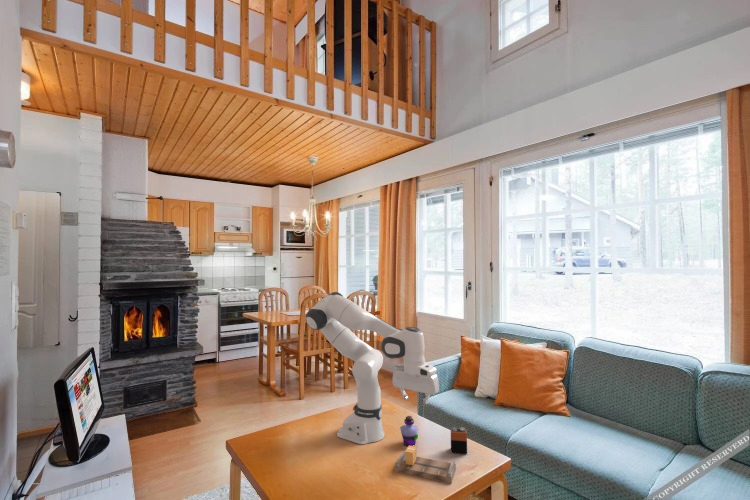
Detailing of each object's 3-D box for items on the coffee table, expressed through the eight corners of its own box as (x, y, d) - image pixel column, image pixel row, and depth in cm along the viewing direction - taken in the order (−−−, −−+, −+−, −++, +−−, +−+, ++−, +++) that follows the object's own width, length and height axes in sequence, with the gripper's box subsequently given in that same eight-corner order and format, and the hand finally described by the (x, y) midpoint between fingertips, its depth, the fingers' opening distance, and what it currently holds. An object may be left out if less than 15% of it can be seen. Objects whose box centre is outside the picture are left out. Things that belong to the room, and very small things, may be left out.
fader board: (395, 471, 146) (395, 463, 146) (402, 458, 155) (402, 450, 155) (451, 483, 138) (451, 474, 138) (455, 469, 147) (455, 460, 147)
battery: (467, 454, 158) (466, 431, 158) (451, 453, 159) (450, 429, 159) (466, 449, 162) (466, 426, 162) (450, 448, 163) (450, 425, 163)
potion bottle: (417, 449, 162) (416, 422, 162) (397, 447, 165) (397, 419, 165) (420, 440, 170) (420, 414, 171) (402, 438, 173) (401, 412, 173)
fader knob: (405, 464, 147) (405, 451, 147) (409, 457, 152) (408, 445, 152) (413, 465, 146) (412, 452, 146) (416, 459, 150) (416, 446, 151)
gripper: (389, 365, 156) (389, 398, 156) (433, 372, 144) (434, 408, 144) (396, 362, 161) (397, 394, 161) (440, 368, 150) (441, 403, 149)
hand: (415, 401), depth 152 cm, fingers open, 8 cm apart
